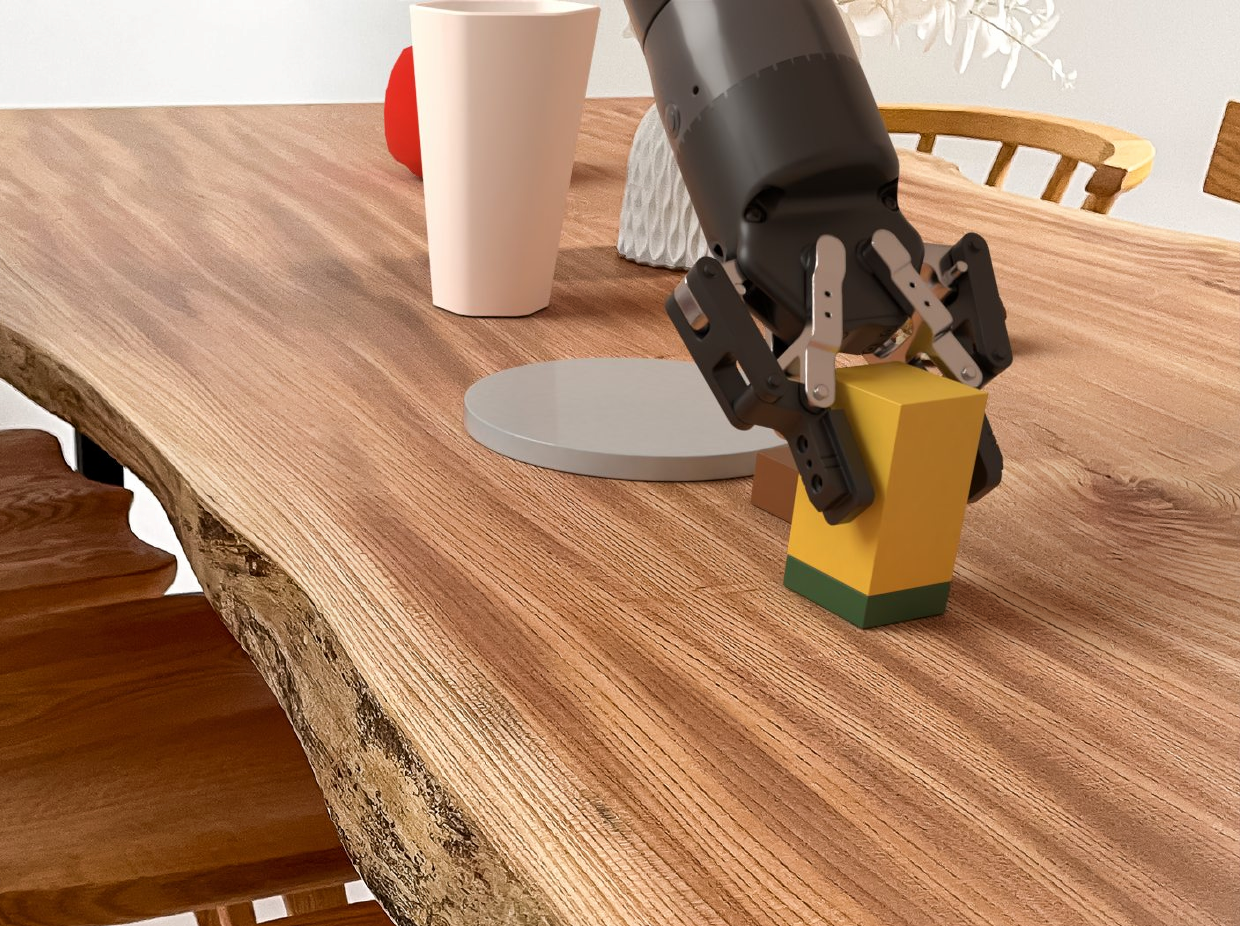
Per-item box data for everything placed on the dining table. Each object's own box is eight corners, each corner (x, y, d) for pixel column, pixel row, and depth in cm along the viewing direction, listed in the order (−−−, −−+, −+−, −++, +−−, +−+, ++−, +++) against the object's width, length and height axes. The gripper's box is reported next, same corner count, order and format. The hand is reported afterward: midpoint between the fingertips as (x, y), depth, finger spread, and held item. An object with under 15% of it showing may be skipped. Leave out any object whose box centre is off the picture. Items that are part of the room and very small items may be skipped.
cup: (404, 323, 108) (412, 12, 99) (400, 286, 117) (407, -3, 108) (586, 324, 108) (610, 13, 99) (569, 288, 117) (590, -1, 108)
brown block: (821, 492, 81) (829, 440, 79) (878, 518, 78) (888, 465, 76) (749, 503, 79) (756, 450, 78) (804, 531, 76) (812, 476, 75)
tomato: (378, 188, 149) (380, 51, 144) (386, 163, 161) (389, 35, 155) (539, 191, 148) (547, 53, 143) (537, 166, 160) (544, 37, 154)
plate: (766, 377, 98) (769, 355, 97) (870, 479, 82) (874, 453, 82) (444, 380, 97) (444, 358, 96) (488, 484, 81) (489, 458, 81)
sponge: (782, 585, 71) (813, 370, 66) (862, 570, 72) (898, 360, 68) (862, 629, 67) (901, 404, 62) (945, 613, 68) (989, 392, 64)
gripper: (655, 52, 63) (816, 479, 60) (971, 39, 68) (1134, 431, 65) (567, 187, 70) (707, 577, 66) (860, 166, 75) (1002, 526, 72)
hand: (917, 503), depth 66 cm, fingers open, 5 cm apart
